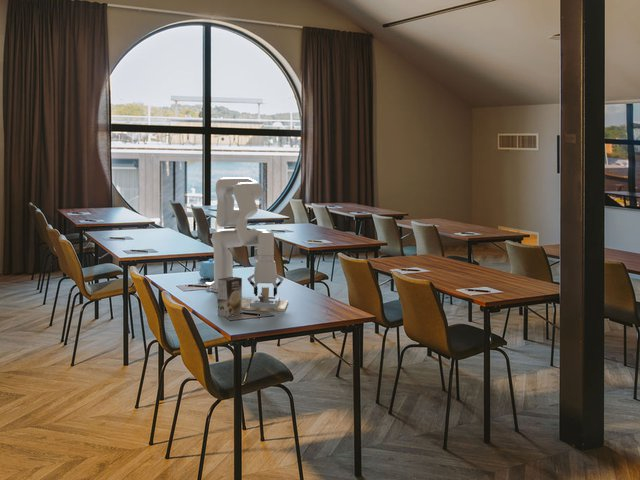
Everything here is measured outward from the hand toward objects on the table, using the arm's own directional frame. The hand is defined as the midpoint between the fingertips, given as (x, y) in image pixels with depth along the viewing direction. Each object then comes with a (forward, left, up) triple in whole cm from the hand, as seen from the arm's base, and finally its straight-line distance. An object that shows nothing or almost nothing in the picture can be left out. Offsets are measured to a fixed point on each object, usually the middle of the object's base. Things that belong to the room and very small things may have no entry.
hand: (265, 295), depth 325 cm
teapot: (-38, +68, -5) cm, 78 cm away
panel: (0, 0, -4) cm, 4 cm away
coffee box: (-14, -17, -5) cm, 23 cm away
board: (-1, 0, -5) cm, 5 cm away
